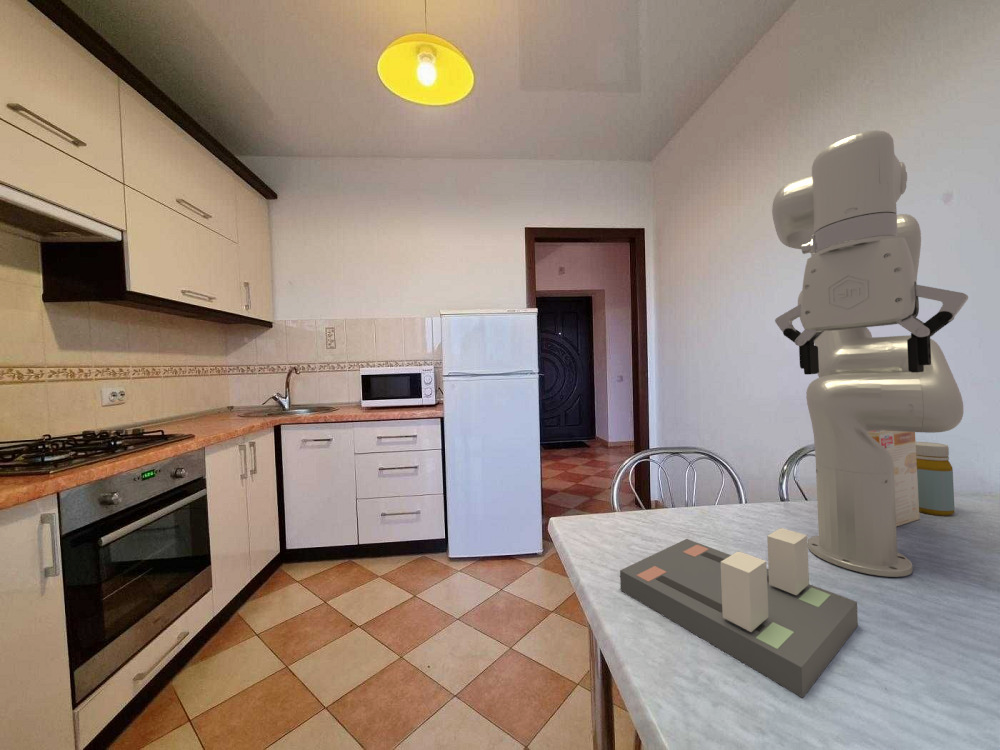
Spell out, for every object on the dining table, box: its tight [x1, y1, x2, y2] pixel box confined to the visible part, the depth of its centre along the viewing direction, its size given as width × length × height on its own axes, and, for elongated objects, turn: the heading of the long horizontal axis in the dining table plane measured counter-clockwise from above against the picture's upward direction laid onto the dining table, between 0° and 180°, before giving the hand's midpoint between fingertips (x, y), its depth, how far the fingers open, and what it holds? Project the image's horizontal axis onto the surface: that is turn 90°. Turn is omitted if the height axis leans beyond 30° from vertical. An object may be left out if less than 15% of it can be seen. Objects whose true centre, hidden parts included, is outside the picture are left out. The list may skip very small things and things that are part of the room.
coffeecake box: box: [868, 430, 921, 527], centre depth 76 cm, size 15×7×20 cm, turn 110°
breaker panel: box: [619, 538, 859, 698], centre depth 49 cm, size 18×22×3 cm
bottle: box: [916, 441, 956, 517], centre depth 80 cm, size 7×7×15 cm
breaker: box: [766, 527, 810, 595], centre depth 48 cm, size 4×3×7 cm
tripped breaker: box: [721, 551, 768, 632], centre depth 42 cm, size 4×3×7 cm
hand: (859, 373), depth 46 cm, fingers open, 9 cm apart
